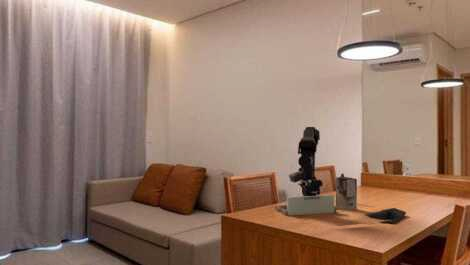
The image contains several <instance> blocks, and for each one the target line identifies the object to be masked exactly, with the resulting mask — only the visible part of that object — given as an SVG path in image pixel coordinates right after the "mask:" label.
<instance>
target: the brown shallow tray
mask: <svg viewBox="0 0 470 265" xmlns="http://www.w3.org/2000/svg"><path fill="white" fill-rule="evenodd" d="M274 211H277V213H280V214H282V215H283V216H289V215H288V211H287V204H286V205H285V204H283V205H282V204H281V205H274ZM333 213H337V207H336V206H334V212H333Z"/></svg>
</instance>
